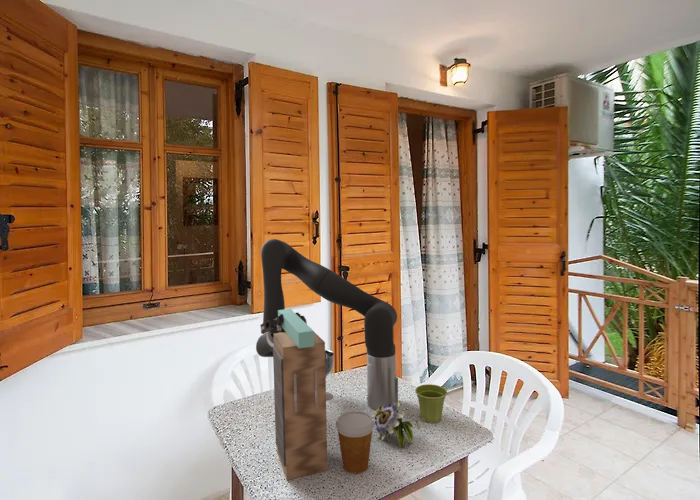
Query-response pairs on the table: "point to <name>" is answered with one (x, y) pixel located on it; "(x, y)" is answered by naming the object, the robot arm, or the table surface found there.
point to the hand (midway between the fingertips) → (290, 316)
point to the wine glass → (329, 368)
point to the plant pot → (431, 401)
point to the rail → (297, 329)
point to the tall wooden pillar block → (300, 406)
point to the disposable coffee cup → (355, 440)
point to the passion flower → (393, 423)
